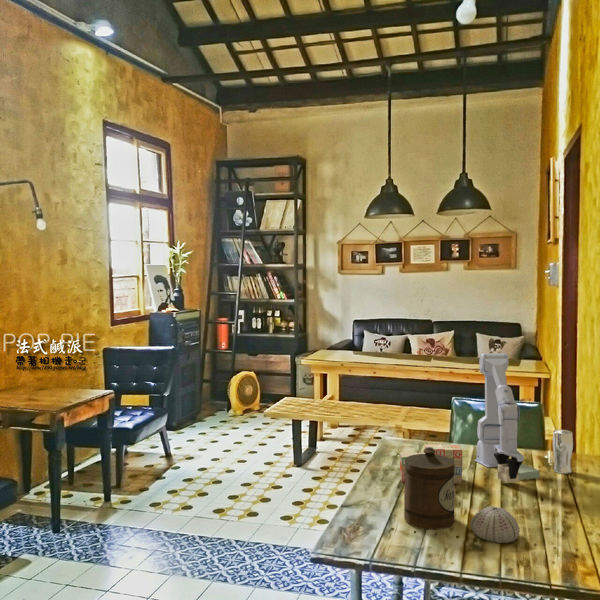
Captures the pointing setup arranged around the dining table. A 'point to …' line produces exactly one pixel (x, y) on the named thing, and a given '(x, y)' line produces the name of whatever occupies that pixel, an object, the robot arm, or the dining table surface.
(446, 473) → the wooden container
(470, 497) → the dining table surface
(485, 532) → the sea urchin shell
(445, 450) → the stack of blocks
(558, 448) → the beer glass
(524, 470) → the green slab
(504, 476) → the ash cube
